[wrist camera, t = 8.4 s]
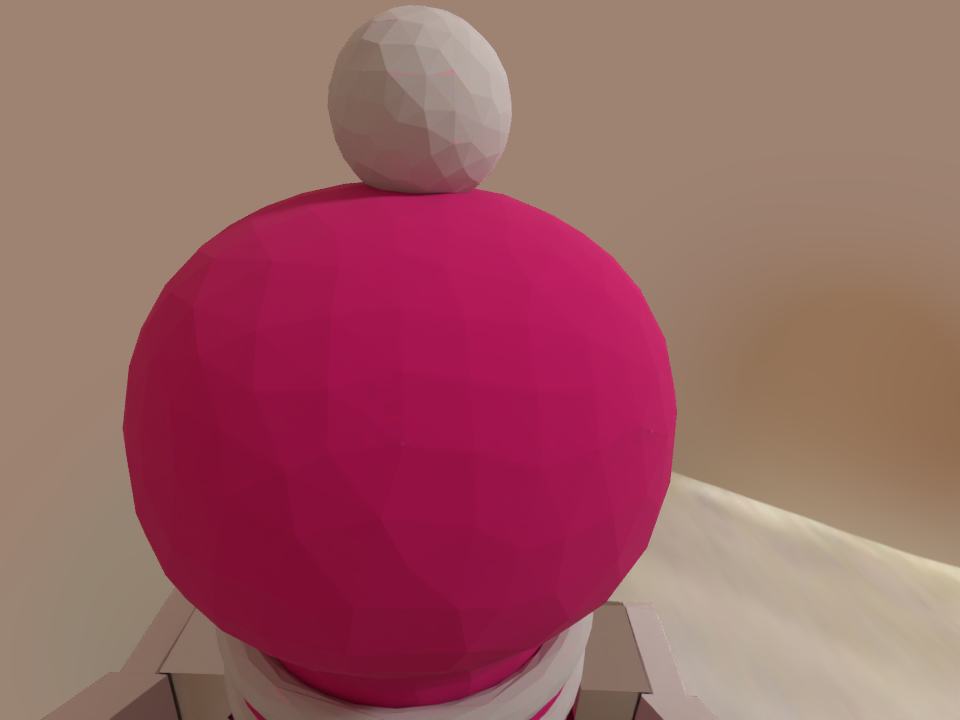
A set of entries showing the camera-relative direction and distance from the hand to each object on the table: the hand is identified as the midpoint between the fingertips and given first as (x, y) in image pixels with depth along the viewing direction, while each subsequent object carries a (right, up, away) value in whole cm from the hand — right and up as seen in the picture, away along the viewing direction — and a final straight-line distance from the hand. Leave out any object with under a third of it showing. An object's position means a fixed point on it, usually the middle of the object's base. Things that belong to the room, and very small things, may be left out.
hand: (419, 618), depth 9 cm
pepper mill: (-1, -11, +4) cm, 12 cm away
